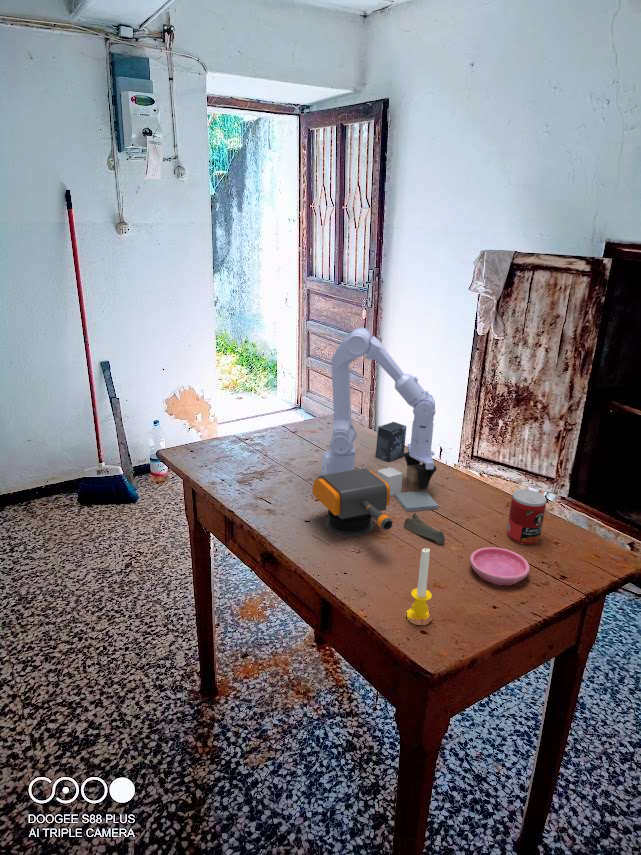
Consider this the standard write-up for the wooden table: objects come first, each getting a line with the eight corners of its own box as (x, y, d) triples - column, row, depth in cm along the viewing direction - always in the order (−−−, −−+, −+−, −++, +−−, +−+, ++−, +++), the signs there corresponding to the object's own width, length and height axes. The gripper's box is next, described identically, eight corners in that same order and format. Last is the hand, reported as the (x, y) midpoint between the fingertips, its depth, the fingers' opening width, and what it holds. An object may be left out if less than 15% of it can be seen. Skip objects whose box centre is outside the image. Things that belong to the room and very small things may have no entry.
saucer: (457, 564, 133) (458, 552, 132) (501, 553, 138) (503, 542, 137) (493, 595, 122) (495, 582, 121) (540, 583, 127) (542, 570, 126)
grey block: (387, 496, 164) (388, 477, 161) (376, 490, 167) (377, 470, 165) (401, 492, 166) (402, 473, 164) (389, 486, 170) (391, 467, 168)
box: (388, 462, 186) (391, 431, 183) (375, 457, 190) (377, 426, 186) (404, 456, 191) (407, 425, 188) (391, 451, 195) (393, 421, 192)
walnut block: (412, 492, 167) (413, 472, 165) (405, 484, 171) (407, 465, 169) (428, 490, 168) (430, 471, 166) (421, 483, 173) (423, 464, 171)
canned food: (523, 548, 140) (530, 506, 136) (499, 532, 146) (505, 492, 143) (546, 541, 143) (554, 500, 140) (522, 526, 150) (528, 486, 146)
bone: (399, 524, 149) (401, 512, 148) (416, 521, 151) (417, 508, 150) (430, 550, 138) (432, 537, 137) (447, 546, 141) (449, 533, 139)
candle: (405, 624, 112) (411, 553, 107) (406, 607, 117) (412, 538, 112) (432, 628, 112) (441, 556, 106) (432, 611, 117) (440, 541, 111)
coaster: (406, 511, 155) (406, 508, 155) (394, 496, 164) (394, 493, 163) (438, 508, 157) (438, 505, 157) (424, 493, 166) (425, 490, 165)
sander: (357, 566, 131) (360, 515, 126) (310, 516, 152) (311, 470, 147) (413, 552, 137) (418, 503, 132) (361, 506, 158) (363, 462, 153)
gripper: (446, 446, 159) (441, 492, 163) (424, 428, 172) (420, 471, 177) (421, 448, 157) (417, 494, 162) (401, 429, 171) (398, 473, 175)
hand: (417, 482), depth 169 cm, fingers open, 7 cm apart
